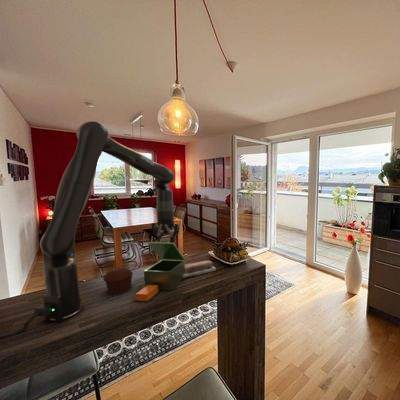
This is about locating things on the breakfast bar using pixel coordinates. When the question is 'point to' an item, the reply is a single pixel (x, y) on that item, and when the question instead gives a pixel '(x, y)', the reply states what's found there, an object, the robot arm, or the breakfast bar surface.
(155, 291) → the block
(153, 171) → the robot arm
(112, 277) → the muffin
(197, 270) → the packaged product
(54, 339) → the breakfast bar surface
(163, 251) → the lid
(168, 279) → the green box
